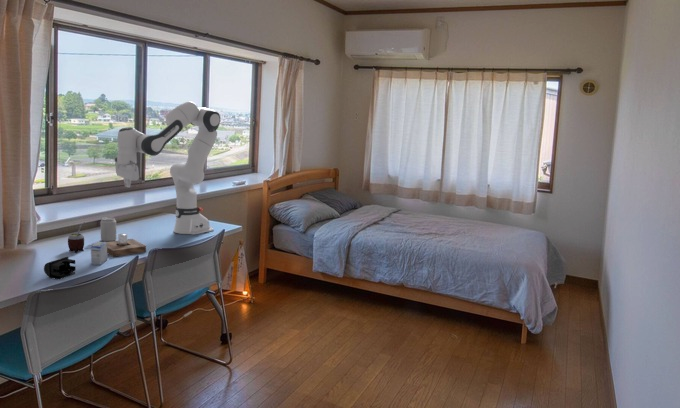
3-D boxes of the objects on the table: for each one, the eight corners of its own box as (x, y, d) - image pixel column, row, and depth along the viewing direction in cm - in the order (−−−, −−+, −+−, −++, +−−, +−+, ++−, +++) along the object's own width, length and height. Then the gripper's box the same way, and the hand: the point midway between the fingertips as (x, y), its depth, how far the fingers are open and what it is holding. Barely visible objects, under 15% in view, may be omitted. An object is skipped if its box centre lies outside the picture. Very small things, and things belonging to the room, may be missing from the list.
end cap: (63, 270, 226) (62, 255, 225) (76, 273, 224) (76, 257, 223) (43, 277, 217) (43, 261, 216) (57, 280, 215) (57, 264, 214)
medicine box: (97, 259, 244) (97, 241, 242) (107, 260, 244) (107, 241, 243) (91, 264, 236) (90, 246, 234) (101, 265, 236) (100, 246, 235)
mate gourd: (69, 249, 257) (67, 219, 254) (86, 248, 260) (86, 218, 257) (67, 253, 250) (66, 222, 247) (85, 252, 253) (84, 222, 250)
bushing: (125, 248, 263) (125, 233, 262) (128, 250, 260) (128, 234, 259) (117, 250, 260) (117, 234, 259) (120, 251, 257) (120, 236, 256)
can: (110, 243, 271) (110, 220, 269) (97, 241, 273) (97, 218, 270) (119, 239, 279) (119, 217, 276) (106, 238, 280) (106, 216, 278)
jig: (132, 244, 271) (132, 238, 271) (146, 251, 260) (146, 245, 260) (100, 248, 260) (100, 243, 260) (113, 256, 249) (112, 250, 249)
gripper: (142, 162, 262) (142, 189, 264) (125, 157, 276) (125, 183, 279) (129, 162, 257) (129, 190, 260) (113, 157, 272) (113, 184, 274)
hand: (127, 187), depth 269 cm, fingers closed
